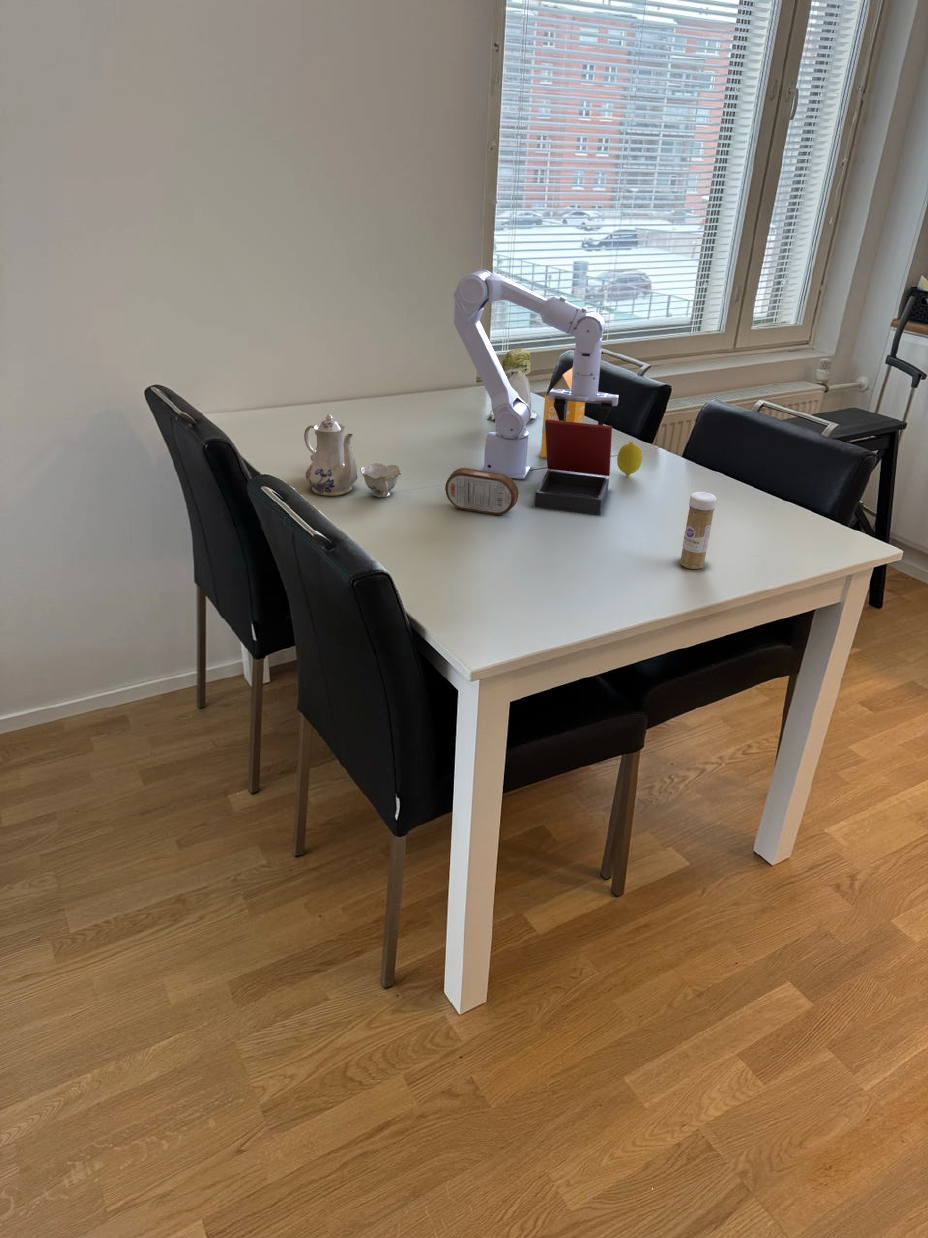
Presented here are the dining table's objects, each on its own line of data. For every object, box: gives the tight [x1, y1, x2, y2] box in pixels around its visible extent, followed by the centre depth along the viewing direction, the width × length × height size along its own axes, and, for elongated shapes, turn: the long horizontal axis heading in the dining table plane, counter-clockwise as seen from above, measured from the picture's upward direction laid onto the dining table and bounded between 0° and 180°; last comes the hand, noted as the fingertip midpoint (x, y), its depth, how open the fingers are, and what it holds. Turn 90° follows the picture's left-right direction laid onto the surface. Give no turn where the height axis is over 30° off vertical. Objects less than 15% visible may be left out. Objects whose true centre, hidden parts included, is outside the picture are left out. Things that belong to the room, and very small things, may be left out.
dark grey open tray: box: [533, 469, 610, 516], centre depth 194 cm, size 15×14×3 cm
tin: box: [444, 467, 519, 516], centre depth 185 cm, size 15×3×8 cm, turn 71°
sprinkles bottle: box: [679, 491, 718, 570], centre depth 164 cm, size 5×5×14 cm
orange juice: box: [539, 366, 586, 459], centre depth 216 cm, size 8×9×20 cm
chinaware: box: [303, 413, 403, 498], centre depth 193 cm, size 28×17×17 cm, turn 47°
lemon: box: [616, 441, 643, 477], centre depth 207 cm, size 6×6×8 cm
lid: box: [545, 419, 613, 477], centre depth 193 cm, size 15×14×4 cm
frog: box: [489, 348, 539, 421], centre depth 242 cm, size 12×13×18 cm
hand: (580, 435), depth 200 cm, fingers open, 7 cm apart
